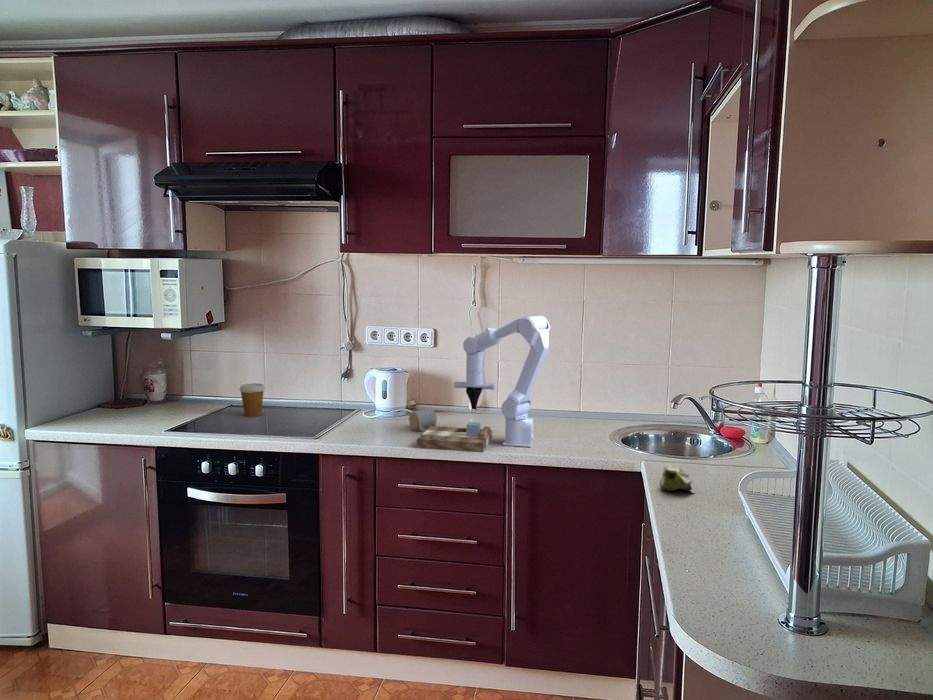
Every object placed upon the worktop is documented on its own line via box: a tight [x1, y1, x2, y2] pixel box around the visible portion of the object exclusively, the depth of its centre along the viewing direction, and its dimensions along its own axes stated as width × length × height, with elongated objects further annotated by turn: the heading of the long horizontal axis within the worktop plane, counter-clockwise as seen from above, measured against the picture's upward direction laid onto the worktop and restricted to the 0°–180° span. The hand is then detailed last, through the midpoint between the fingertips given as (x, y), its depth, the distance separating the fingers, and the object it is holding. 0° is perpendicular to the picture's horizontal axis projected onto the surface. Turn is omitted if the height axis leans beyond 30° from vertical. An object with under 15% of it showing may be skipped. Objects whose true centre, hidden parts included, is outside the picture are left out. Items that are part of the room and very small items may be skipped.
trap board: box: [416, 425, 493, 453], centre depth 223 cm, size 22×18×5 cm
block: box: [465, 421, 481, 437], centre depth 221 cm, size 4×4×4 cm
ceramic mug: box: [408, 407, 438, 433], centre depth 239 cm, size 11×8×8 cm
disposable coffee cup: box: [239, 382, 266, 418], centre depth 260 cm, size 10×10×12 cm
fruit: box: [659, 465, 693, 492], centre depth 178 cm, size 9×9×8 cm
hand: (474, 408), depth 233 cm, fingers closed
